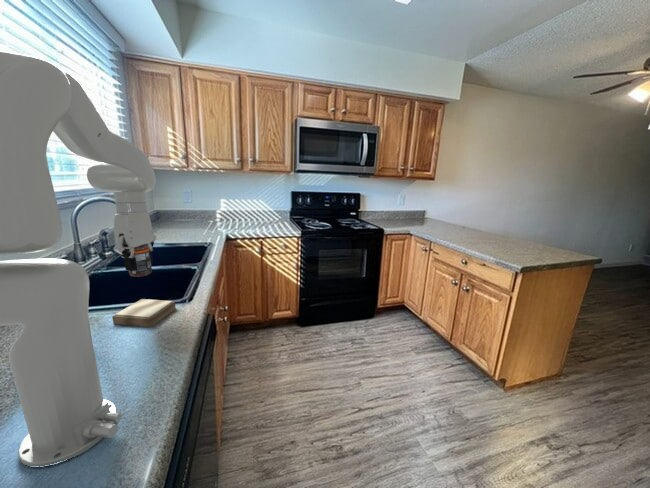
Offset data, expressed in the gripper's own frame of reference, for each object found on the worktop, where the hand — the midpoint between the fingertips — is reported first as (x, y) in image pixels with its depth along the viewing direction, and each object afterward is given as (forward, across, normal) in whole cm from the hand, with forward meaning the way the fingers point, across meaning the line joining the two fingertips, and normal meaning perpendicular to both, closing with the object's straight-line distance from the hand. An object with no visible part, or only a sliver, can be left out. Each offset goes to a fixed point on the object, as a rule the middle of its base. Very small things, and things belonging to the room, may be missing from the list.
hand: (139, 266), depth 85 cm
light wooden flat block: (+17, 0, 0) cm, 17 cm away
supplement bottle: (+3, 0, 0) cm, 3 cm away
